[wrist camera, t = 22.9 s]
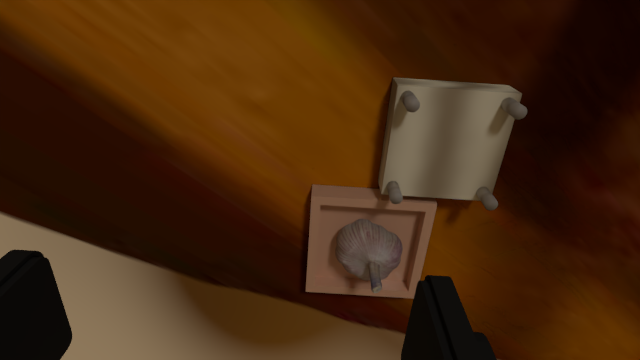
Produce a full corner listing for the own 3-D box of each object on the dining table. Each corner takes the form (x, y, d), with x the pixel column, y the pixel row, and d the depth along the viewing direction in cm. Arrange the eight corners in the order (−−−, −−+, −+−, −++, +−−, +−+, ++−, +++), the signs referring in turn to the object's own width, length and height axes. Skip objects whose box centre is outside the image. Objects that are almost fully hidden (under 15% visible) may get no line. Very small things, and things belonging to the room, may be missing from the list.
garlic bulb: (404, 259, 46) (417, 311, 39) (342, 270, 47) (345, 323, 40) (393, 205, 43) (406, 251, 36) (327, 218, 44) (327, 265, 37)
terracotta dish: (431, 192, 43) (437, 204, 41) (411, 283, 49) (415, 298, 47) (312, 184, 43) (311, 195, 41) (306, 277, 49) (305, 291, 47)
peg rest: (508, 85, 38) (535, 101, 33) (479, 187, 43) (499, 214, 38) (392, 77, 37) (402, 92, 33) (377, 180, 42) (384, 207, 38)
